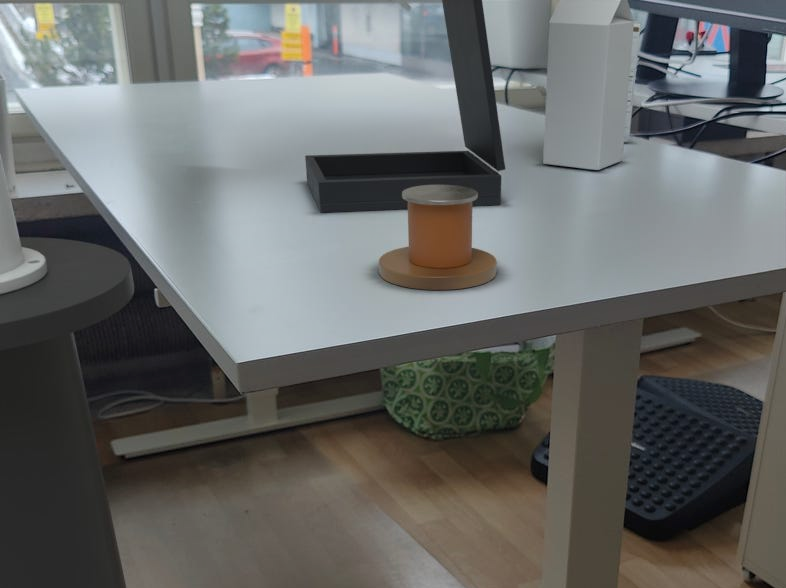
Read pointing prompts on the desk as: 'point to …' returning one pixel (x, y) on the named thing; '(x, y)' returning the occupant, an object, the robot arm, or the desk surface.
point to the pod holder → (395, 178)
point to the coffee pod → (440, 225)
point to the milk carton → (587, 83)
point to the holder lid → (474, 79)
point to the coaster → (436, 271)
